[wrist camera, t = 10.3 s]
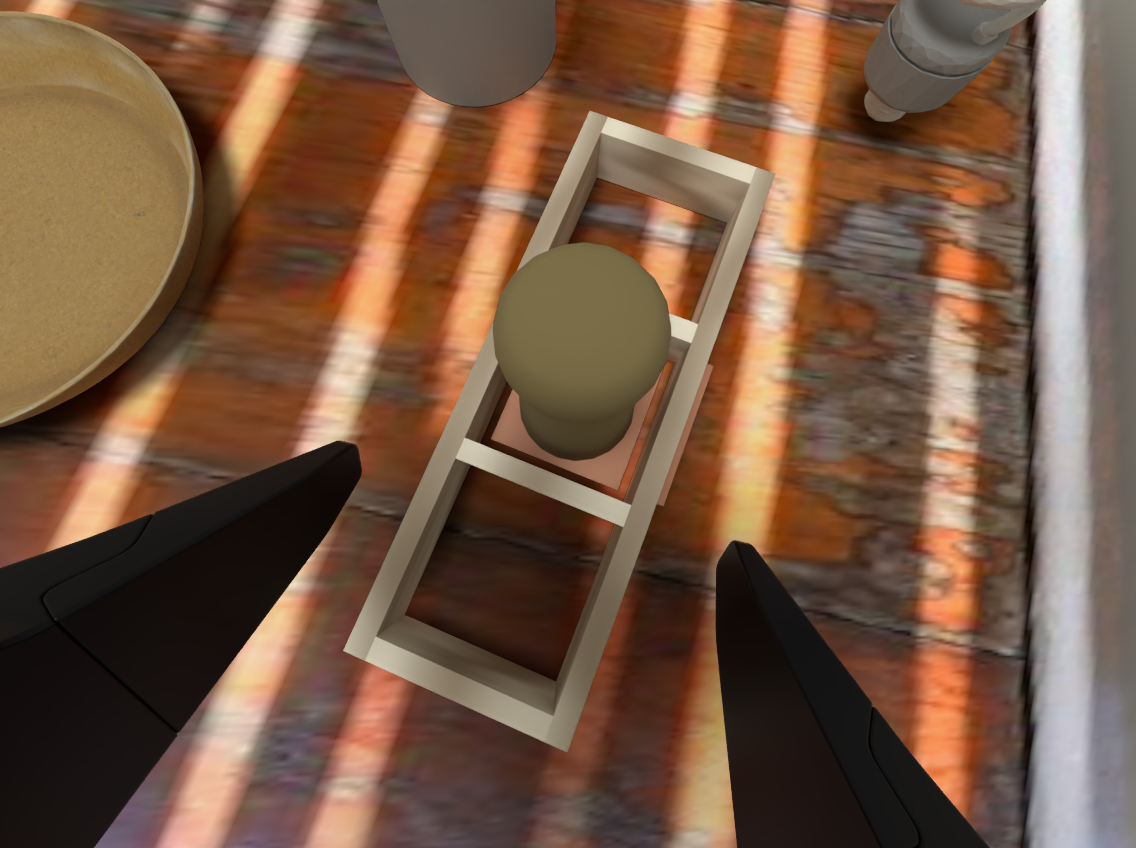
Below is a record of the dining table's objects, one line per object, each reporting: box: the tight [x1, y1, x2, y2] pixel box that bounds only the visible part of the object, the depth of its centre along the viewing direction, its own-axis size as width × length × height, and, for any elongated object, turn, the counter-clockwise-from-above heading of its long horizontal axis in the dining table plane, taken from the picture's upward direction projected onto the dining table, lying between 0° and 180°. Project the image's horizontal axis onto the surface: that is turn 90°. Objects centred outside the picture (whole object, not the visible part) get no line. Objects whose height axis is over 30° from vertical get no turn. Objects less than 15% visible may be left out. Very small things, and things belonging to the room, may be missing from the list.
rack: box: [343, 111, 775, 752], centre depth 20 cm, size 10×28×3 cm, turn 158°
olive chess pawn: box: [493, 242, 671, 461], centre depth 16 cm, size 6×6×11 cm
